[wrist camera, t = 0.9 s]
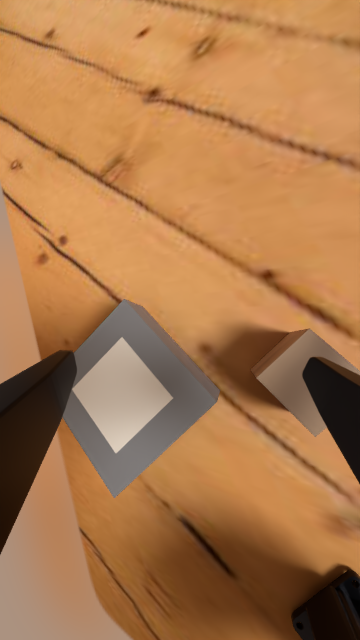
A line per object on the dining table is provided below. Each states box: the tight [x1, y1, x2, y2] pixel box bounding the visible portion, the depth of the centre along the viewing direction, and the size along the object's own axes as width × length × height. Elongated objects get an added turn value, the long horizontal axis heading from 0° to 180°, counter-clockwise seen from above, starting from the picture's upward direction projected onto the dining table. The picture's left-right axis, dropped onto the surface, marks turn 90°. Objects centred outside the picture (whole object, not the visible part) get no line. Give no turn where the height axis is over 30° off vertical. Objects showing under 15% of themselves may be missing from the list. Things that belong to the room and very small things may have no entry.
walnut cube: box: [250, 329, 360, 437], centre depth 16 cm, size 5×5×5 cm
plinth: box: [63, 299, 220, 498], centre depth 20 cm, size 12×12×4 cm
